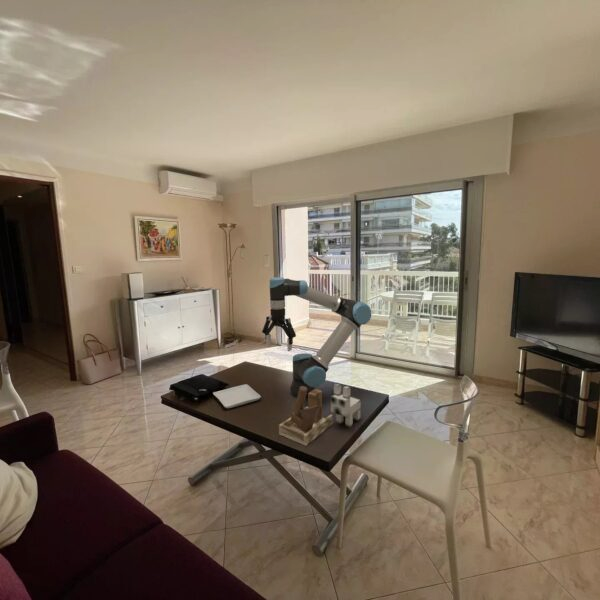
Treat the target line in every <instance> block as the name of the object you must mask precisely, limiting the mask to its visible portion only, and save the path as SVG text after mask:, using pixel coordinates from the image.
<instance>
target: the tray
mask: <svg viewBox="0 0 600 600" xmlns="http://www.w3.org/2000/svg"><path fill="white" fill-rule="evenodd" d="M305 408H308V405H307V406H306V407H305ZM333 418H334V415H333V414H329V415H328V416H327V417H323V416H322V419H321V420H319V421H318V422H317V423H313V427H312V429H311V430H310V431H308V432H307V433H305V432H304V431H303V430H302V429H301V428H300V427H299V426H298V425H297V424H296V423H295V422H293V421H292V420H291V416H290V417H289V418H288V419H286V420H284V421H283V422H281V423H280V424H278V434H279V436H282V437H284V438H287V439H289V440H291V441H293V442H296V443H299V444H301V445H303V446H305V447H306V446H308V445H309V444H310V443H312V442H313V441H314V440H315V439H316V438H317V437H319V436H320V435H321V434H323V433H324V432H325V431H326V430H327V429H329V427H331V426H332V425H333V424H334V419H333Z"/></svg>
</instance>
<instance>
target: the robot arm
mask: <svg viewBox="0 0 600 600" xmlns="http://www.w3.org/2000/svg"><path fill="white" fill-rule="evenodd" d="M288 296H290V297H291V296H296V297H298V298H300V299H303V300H306V301H308V302H311V303H313V304H315V305H319V306H321V307H324V308H327V309H329V310H330V311H331V312H332V313H335V314H337V315H339V316H340V317H341V318H340V319H341V321H340V322H339V323H338V325H337V326H336V328H335V329H334V330H333V332H332V333H331V334H330V336H328V338H327V339H326V341H325V342H324V343H323V345H322V346H321V347H320V349H319V350H318V351H317V353H316V354H314V355H312V354H311V353H297V354H294V355H293V356H292V382H291V385H290V388H289V392H290V395H291V396H292V397H294V398H297V397H298V392H299V388H300V387H301V386H305V387H306V388H307V393H306V397H305V399H306V398H307V399H308V393H309V392H311V391H313V390H314V389H317V387H320V386H322V385H323V384H324V383H325V381H326V380H327V373H328V371H329V364H330V363H331V362H332V360H333V359H334V358H335V356H336V355H337V354H338V352H340V349H342V347H343V346H344V344H345V343H346V342H347V340H348V338H349V337H350V336H351V335H352V334H353V333H354V331H356V330H359V329H360V327H361V326H362V325H366V324H367V323H369V322H370V320H371V318H372V309H371V307H370V306H369V305H368V304H367V303H366V302H362V301H359V300H358V301H357V300H354V299H349V298H344V297H340V296H338V295H337V296H333V295H331V294H329V293H326V292H323V291H322V290H318V289H316V288H313V287H311V286H309V285H308V282H307V281H306V280H295V279H290V278H284V277H271V278H270V279H269V299H270V300H269V301H270V302H269V303H270V311H269V312H270V315H269V316H266V318H265V320H266V321H265V323H264V326H263V328H262V331H261V333H262V334H264V335H265V336H264V337H265V342H266V348H270V347H272V338H271V337H272V335H271V332H272V330H273V329H274V327H280V328H281V329H282V330H283V331H284V333H285V334H286V336H287V339H286V341H287V342H286V343H287V344H286V345H287V346H286V348H287V352H290V351H292V350H293V347H292V346H293V343H294V342H293V341H294V340H293V339H294V338H295V337H297V334H296V332H295V330H294V328H293V325H292V321H291V318H290V317H288V318H286V297H288Z"/></svg>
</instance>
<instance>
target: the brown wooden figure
mask: <svg viewBox="0 0 600 600" xmlns="http://www.w3.org/2000/svg"><path fill="white" fill-rule="evenodd" d="M306 393H307V388H306V387H305V386H301V387H300V388H299V392H298V397H296V401H295V402H296V403H295V407H294V411H293V412H292V413H291V416H290V417H291V420H292V421H293V422H295V423H296V424H297V425H298V426H299V427H300V428H301V429H302V430H303V431H304V432H305V433H307V432H308V431H310V430H311V429H312V427H313V423H314V419H315V415H316V411H317V408H318V405H316V406H312V407H308V408H306V407H304V405H305V402H306V398H305V397H306Z"/></svg>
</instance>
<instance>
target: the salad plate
mask: <svg viewBox="0 0 600 600" xmlns="http://www.w3.org/2000/svg"><path fill="white" fill-rule="evenodd" d="M212 394H213V396H215V398H217V399H218V401H219V402H220V403H221V404H222V405H223V407H224V408H226V409H232V408H235V407H239V406H242V405H247V404H249V403H253V402H255V401H259V400H260V399H261V398H262V396H261V395H260V394H259V393H258V392H257V391H255V390H254V389H253V388H252V387H251V386H250V385H249V384H247V383H246V384H241V385H237V386H233V387H230V388H225V389H222V390H218V391H213V392H212Z"/></svg>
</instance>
